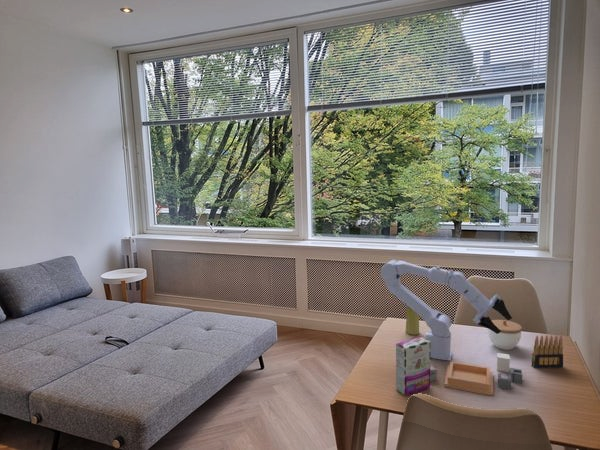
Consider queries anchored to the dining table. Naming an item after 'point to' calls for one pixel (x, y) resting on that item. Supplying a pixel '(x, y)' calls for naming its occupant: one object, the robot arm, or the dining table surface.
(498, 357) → the plain white rectangular block
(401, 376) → the candy bar box
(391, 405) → the dining table surface
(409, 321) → the vase
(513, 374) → the clip
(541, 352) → the ammunition clip
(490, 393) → the wooden tray
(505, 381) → the clip
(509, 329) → the lidded bowl
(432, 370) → the usb wall charger
